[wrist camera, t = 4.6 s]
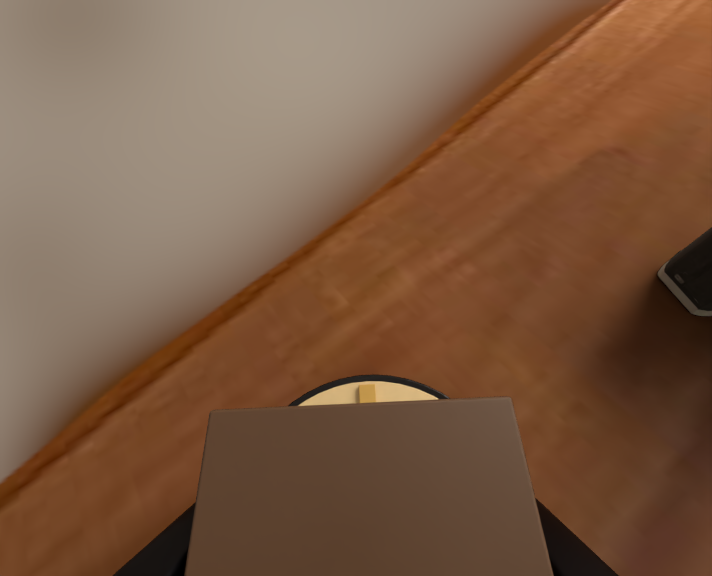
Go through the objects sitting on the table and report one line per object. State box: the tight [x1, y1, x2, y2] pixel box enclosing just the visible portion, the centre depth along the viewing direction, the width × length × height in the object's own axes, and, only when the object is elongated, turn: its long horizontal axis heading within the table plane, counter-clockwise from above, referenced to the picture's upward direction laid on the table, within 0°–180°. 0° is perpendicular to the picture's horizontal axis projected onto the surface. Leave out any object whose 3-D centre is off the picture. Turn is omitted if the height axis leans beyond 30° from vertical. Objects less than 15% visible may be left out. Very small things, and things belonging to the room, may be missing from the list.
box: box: [184, 381, 554, 576], centre depth 9 cm, size 11×11×8 cm
